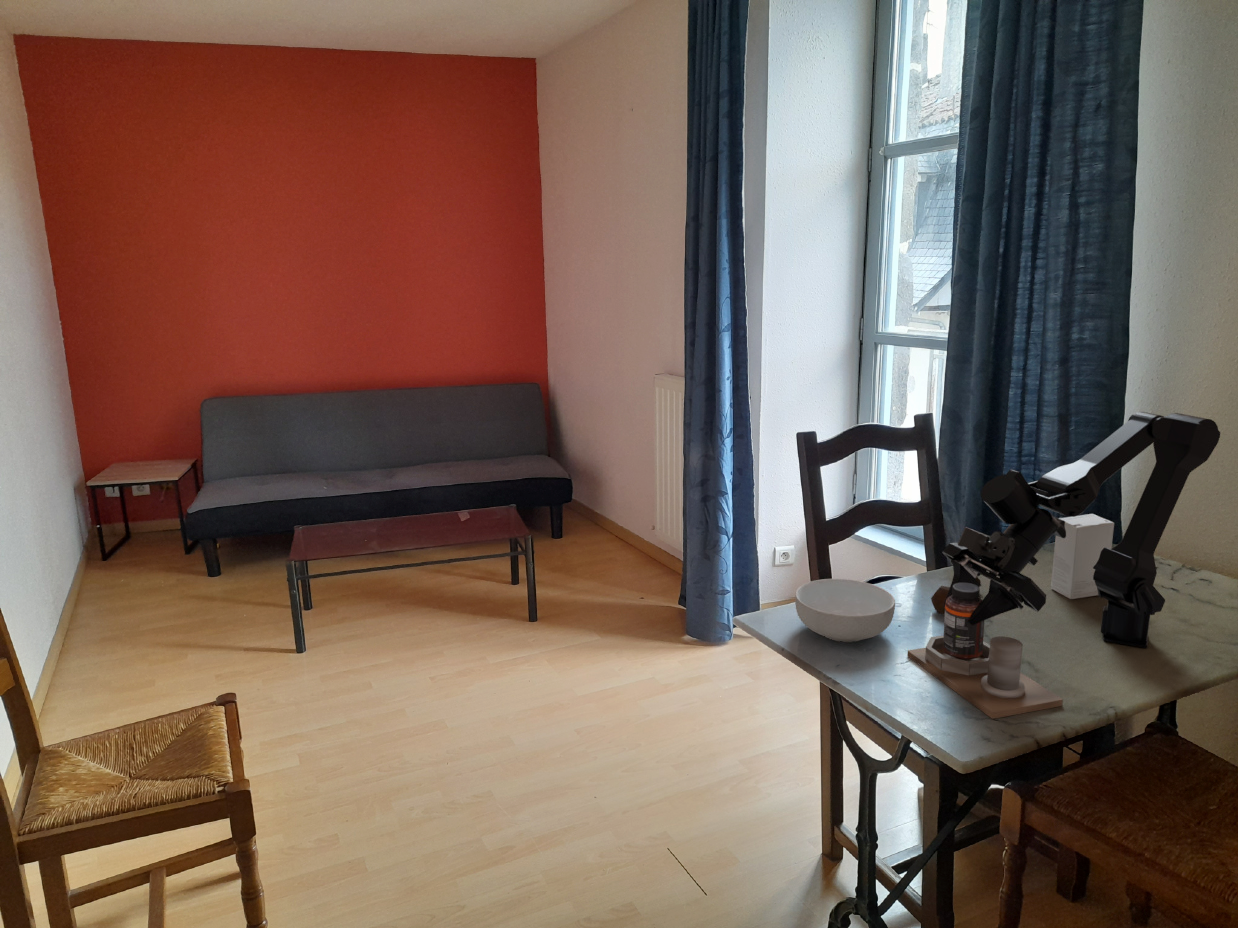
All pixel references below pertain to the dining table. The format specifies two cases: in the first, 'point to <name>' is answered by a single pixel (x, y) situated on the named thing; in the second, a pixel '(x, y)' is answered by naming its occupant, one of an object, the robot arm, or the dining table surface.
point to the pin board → (986, 699)
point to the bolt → (942, 598)
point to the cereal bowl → (844, 608)
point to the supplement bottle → (962, 623)
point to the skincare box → (1080, 555)
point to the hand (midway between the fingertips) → (957, 615)
